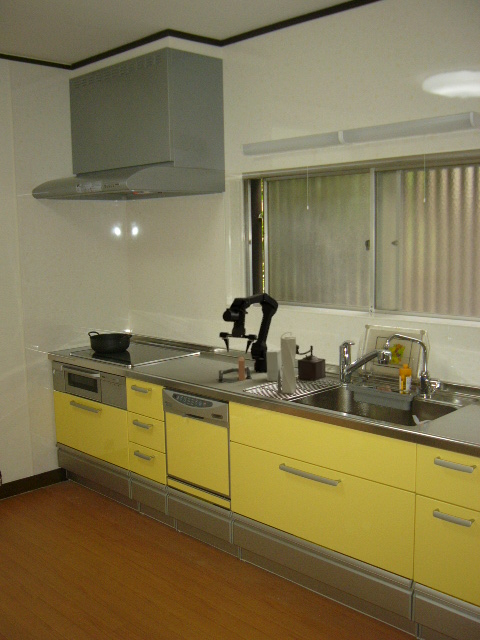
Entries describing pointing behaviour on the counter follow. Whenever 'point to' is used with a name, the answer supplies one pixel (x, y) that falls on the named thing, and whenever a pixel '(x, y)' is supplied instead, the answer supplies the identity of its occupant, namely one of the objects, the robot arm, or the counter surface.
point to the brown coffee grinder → (310, 366)
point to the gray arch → (222, 372)
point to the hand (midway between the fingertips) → (237, 353)
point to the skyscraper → (287, 365)
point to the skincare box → (273, 364)
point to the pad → (228, 380)
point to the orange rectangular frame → (241, 369)
